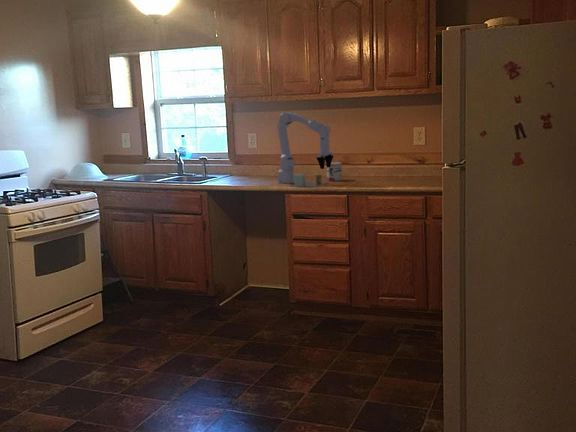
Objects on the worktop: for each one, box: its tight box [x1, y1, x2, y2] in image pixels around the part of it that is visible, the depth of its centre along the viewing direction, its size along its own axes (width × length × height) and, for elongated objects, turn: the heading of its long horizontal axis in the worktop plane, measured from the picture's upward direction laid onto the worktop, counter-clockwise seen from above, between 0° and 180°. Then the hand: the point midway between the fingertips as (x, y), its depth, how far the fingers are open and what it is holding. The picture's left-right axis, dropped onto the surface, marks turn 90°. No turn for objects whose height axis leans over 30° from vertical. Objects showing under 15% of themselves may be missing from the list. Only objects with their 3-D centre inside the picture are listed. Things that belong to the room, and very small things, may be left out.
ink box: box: [326, 161, 343, 182], centre depth 407 cm, size 9×5×12 cm, turn 101°
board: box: [289, 181, 328, 188], centre depth 395 cm, size 18×20×1 cm
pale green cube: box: [293, 173, 307, 188], centre depth 389 cm, size 5×5×7 cm
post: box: [315, 174, 323, 183], centre depth 397 cm, size 3×3×5 cm
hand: (325, 168), depth 395 cm, fingers open, 7 cm apart
